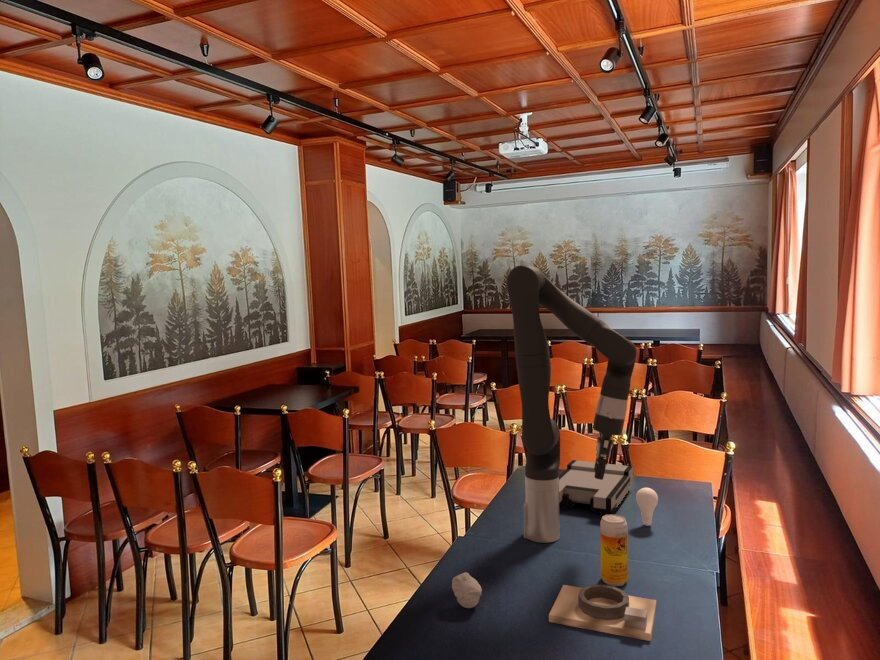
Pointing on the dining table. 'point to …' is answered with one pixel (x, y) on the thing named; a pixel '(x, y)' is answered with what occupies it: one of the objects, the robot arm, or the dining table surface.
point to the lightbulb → (646, 504)
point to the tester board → (604, 611)
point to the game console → (594, 486)
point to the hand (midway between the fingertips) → (598, 475)
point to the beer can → (614, 550)
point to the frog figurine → (466, 590)
